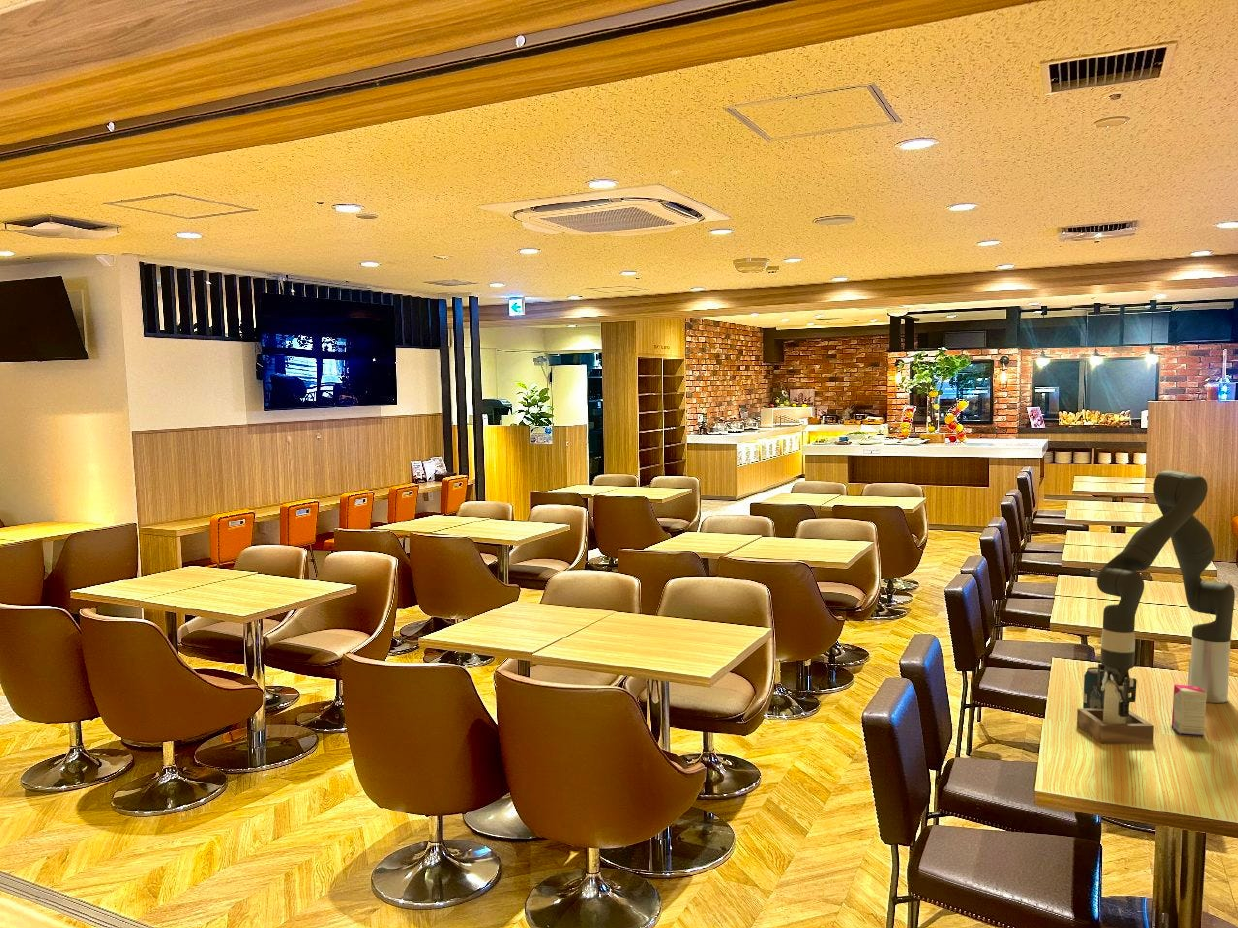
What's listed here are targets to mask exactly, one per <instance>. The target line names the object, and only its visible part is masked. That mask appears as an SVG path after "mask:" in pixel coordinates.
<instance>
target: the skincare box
mask: <svg viewBox="0 0 1238 928" xmlns="http://www.w3.org/2000/svg"><path fill="white" fill-rule="evenodd" d="M1118 687H1119V689H1121V690H1123V689H1124V686H1123V685H1118ZM1122 696H1123V692H1122ZM1118 712H1119V698H1118V694H1117V693H1116V692H1115V685H1114V684H1113V682H1112V681H1110V680H1108V682H1107V683H1106V684H1105V695H1104V711H1103V722H1104V723H1105V724H1126V717H1121V716H1119V715H1118Z"/></svg>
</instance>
